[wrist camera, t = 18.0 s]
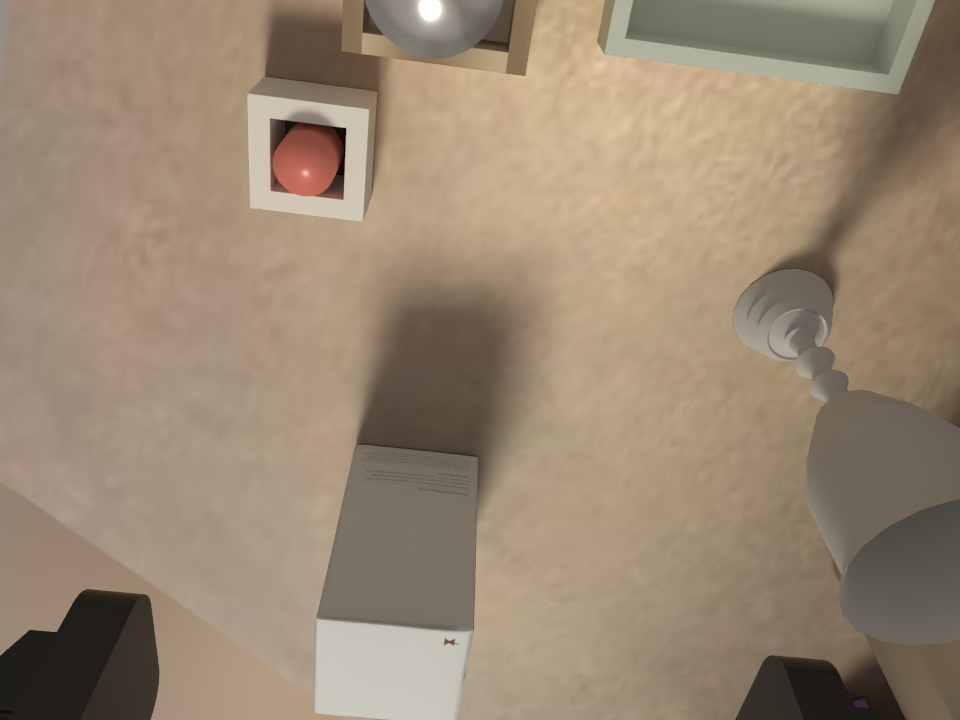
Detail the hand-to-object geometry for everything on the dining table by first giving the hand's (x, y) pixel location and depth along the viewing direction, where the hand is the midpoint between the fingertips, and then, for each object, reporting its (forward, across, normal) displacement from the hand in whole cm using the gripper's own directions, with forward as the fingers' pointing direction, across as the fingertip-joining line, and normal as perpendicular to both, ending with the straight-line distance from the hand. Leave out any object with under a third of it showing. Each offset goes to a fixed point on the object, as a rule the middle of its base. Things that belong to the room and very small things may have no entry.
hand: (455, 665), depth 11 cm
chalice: (+30, -17, +9) cm, 36 cm away
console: (+30, +7, +3) cm, 31 cm away
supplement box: (+30, +1, +24) cm, 39 cm away
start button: (+29, +7, +3) cm, 30 cm away
